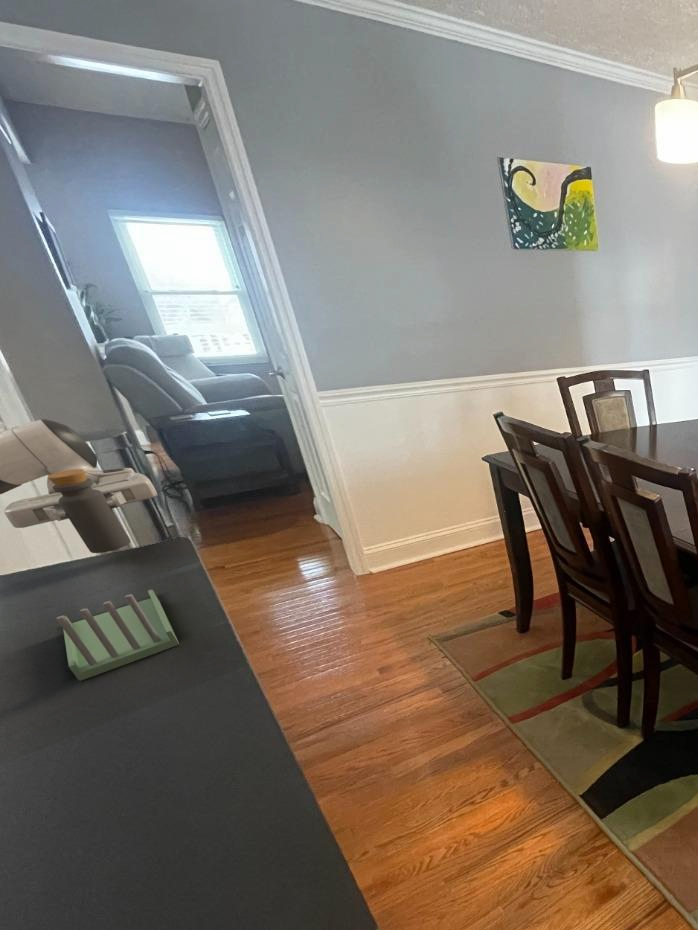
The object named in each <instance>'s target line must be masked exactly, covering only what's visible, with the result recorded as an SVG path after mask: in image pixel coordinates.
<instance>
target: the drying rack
mask: <svg viewBox="0 0 698 930" xmlns="http://www.w3.org/2000/svg"><path fill="white" fill-rule="evenodd" d="M147 593H148V595H149V597H150V598H147V599H144V600H140V601H137V600H136V598H135V597H134V595H133V594H131V593H129V594H126V595H125V596H124V598H125V600H126V601H127V603H128V605H125V606H122V607H119V608H116V607H115V606H114V604H113V603H112V601H111V600H107V601H105V602H103V603H102V604H103V606H104V608H105V609H106V612H103V613H100V614H96V615H94V616H93V614H92V613H91V612H90V610H89V609H88V608H87V607H86V608H82V609H80V610H79V613H80V614H81V616H82V617H83V619H81V620H78V621H74V622H71V620H70V619H69V618H68V616H67V615H59V616H57V617H56V621H57V622H58V624H59V625H60V626H61V627H62V631H63V637H64V642H65V643H64V644H65V650H66V651H65V652H66V656H67V664H68V668H69V669H70V671H71V672H72V673H73V675H74V676H75V678H76V679H77V680H78V681H79V682H81V681H84V680H86V679H89V678H92V677H95V676H98V675H101V674H104V673H106V672H109V671H111V670H112V671H113V670H114V669H117V668H119V667H122V666H125V665H128V664H130V663H134V662H136V661H139V660H142V659H144V658H147V657H149V656H152V655H155V654H158V653H161V652H163V651H166V650H169V649H171V648H174V647H177V646H180V643H179V641H178V639H177V636H176V634H175V632H174V629H173V627H172V625H171V623H170V621H169V619H168V616H167V615H166V612H165V610H164V608H163V606H162V604H161V601H160V599H159V598H158V596H157V595H156V593H155V591H154V590H153V589H148V590H147Z"/></svg>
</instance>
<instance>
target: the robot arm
mask: <svg viewBox="0 0 698 930" xmlns="http://www.w3.org/2000/svg"><path fill="white" fill-rule="evenodd" d="M97 465H98V456H97V455H96V453H95V452H94V450H93V449H92V448H91V446H90V445H89V444H88V442H87V441H85V439H83V438H82V436H81V435H79V433H77V432H76V431H75V430H73V429H72V428H71V427H69V426H68V425H66V424H63V423H61V422H57V421H54V420H52V419H45V418H40V419H37V420H33V421H30V422H27V423H23V424H21V425H20V424H19V425H17V426H14V427H11V428H9V429H7V430H3V431H1V432H0V495H3V494H5V493H7V492H10V491H12V490H14V489H17V488H19V487H21V486H23V485H24V484H27V483H29V482H32V481H35V480H38V479H40V478H44V477H47V478H46V479H47V480H46V486H47V492H48V493H47V494H42V495H38V496H33V497H28V498H23V499H19V500H16V501H12V502H11V503H9V504H8V505H7V506H6V507H5V508H4V511H3V513H4V515H5V517H6V518H7V520H8V521H9V523H10V524H11V526H12V527H13V528H15V529H24V528H29V527H33V526H37V525H41V524H46V523H50V522H55V521H58V522H60V521H64V520H69V517H68V516H67V515H66V512H65V511H64V510H63V509H62V507H61V505H60V503H59V502H58V500H59V499H60V498H61V497H62V494H61V492H55V491H54V489H53V486H54V485H55V484H54V483H53V482H52V481H51V480H50V479H49V478H48V476H50V475H52V474H55V473H59V472H63V471H68V470H76V469H82V470H84V471H85V475H86V478H90V479H91V480H92V481H93V485H91V488H92V489H95V490H99V491H101V492H102V493H103V495H104V497H105V498H106V501H107V504H108V505H109V507H110V508H111V509H112V510H113V509H117V508H121V506H123V505H129V504H132V503H137V502H140V501H145V500H150V499H153V498H156V497H158V491H157V490H156V488H155V486H154V484H153V483H152V481H151V479H149V478H148V477H147V475H144V474H143V473H140V472H135V470H134V469H133V468H132V467H124V468H123V467H122V468H114V469H104V470H103V469H101V470H100V468H98V467H97Z"/></svg>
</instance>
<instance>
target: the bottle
mask: <svg viewBox="0 0 698 930" xmlns="http://www.w3.org/2000/svg"><path fill="white" fill-rule="evenodd" d="M47 478H49V479H50V480H51V481H52V482H53V483H54V484H55V485H54V486H53V489H54V491H55V492H61V494H62V497H61V498H60V499H59V500H58V502H59V503H60V505H61V507H62V509H63V510H64V511H65V512H66V515H67V516H68V517H69V519H68V520H69V521H70V523H71V525H72V526H73V528H74V529H75V531H76V532H77V534H78V535H79V537H80V539H81V540H82V541H83V543H84V545H85V546H86V548H87V549H88V551H89V552H90V553H92V554H101V553H103V554H104V553H108V552H112V551H115V550H119V549H122V548H124V547H126V546H128V545H130V544H131V539H130V537H129V536H128V534H127V532H126V530H125V529H124V527H123V524H122V523H121V522H120V520H119V519H118V516H117V515H116V512H114V510H113V509H111V508H110V507H109V505H108V504H107V501H106V498H105V497H104V495H103V493H102V492H101V491H99V490H95V489H92V488H91V485H93V481H92V480H91V479H90V478H86V475H85V471H84V470H82V469H76V470H68V471H63V472H59V473H55V474H52V475H50V476H48V475H47Z"/></svg>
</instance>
